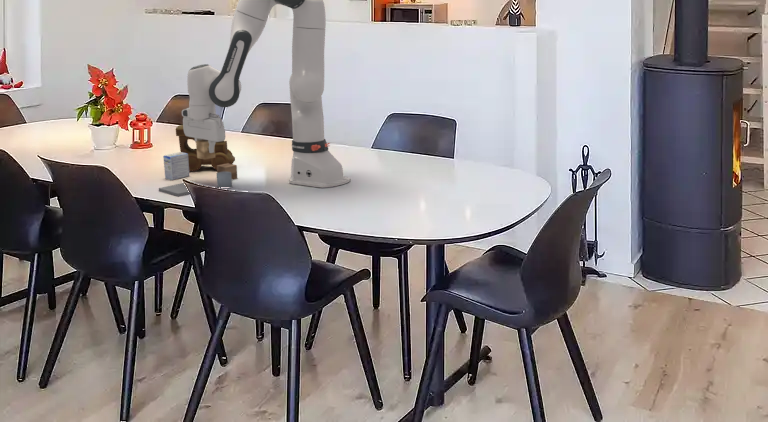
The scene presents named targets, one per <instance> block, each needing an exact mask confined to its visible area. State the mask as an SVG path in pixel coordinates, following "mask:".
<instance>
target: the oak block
mask: <svg viewBox="0 0 768 422" xmlns="http://www.w3.org/2000/svg"><path fill="white" fill-rule="evenodd" d="M195 147H196V148H195V149H197V158H200V159H210V158H215V146H214V152H213V153H208V150H207V148H209V143H208V140H199V141H196V142H195Z"/></svg>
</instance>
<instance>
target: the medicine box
mask: <svg viewBox="0 0 768 422" xmlns="http://www.w3.org/2000/svg"><path fill="white" fill-rule="evenodd" d="M163 168H164V169H163V170H164V178H165V179H166V180H170V181H175V180H178V179H183V178H187V177H190V171H189V161H188V154H187V153H183V152H181V151H179V152H174V153H173V152H172V153H169V154H165V155H163Z"/></svg>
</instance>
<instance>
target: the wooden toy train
mask: <svg viewBox="0 0 768 422" xmlns="http://www.w3.org/2000/svg"><path fill="white" fill-rule="evenodd" d="M175 135H176V137H178V144H179V150H180V151H179V152H183V153H187V154H188V161H189V172H192V173H193V172H198V171H199V170H200V169H201V167H202V166H209V165H210V166H211V167H212V168H213V169H214V170H216V171H217V165H222V164H227V163H229V164H233V165H234V163H235V162H236V157H235V156H234V155H233V153H232V151H231V149H229V148H228V140H224V141H220V142H216V143H215V158H210V159H200V158H197V148H192V147H190V146H189V143H188V142H189V141H188V140H192V141H194V142H195V138H193V137H188V136H186V135H185V133H184V129H183V124H178V126H176V127H175ZM202 140H204V139H202Z"/></svg>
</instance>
